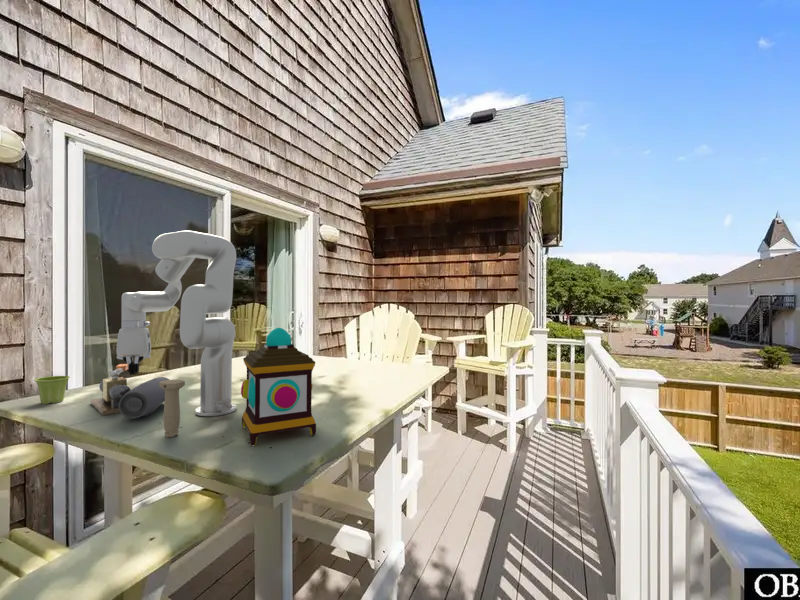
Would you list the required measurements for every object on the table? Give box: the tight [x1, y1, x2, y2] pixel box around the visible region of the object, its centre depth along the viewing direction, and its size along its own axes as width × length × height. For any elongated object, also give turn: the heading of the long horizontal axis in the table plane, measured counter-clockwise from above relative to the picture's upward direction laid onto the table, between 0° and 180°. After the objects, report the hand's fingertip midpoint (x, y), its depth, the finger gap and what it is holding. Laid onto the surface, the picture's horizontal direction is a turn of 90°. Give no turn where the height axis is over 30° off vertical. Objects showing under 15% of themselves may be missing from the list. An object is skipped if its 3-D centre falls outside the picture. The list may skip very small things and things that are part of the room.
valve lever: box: [109, 363, 128, 377], centre depth 140 cm, size 14×3×2 cm, turn 24°
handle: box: [159, 379, 186, 438], centre depth 106 cm, size 5×6×15 cm
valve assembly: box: [90, 375, 132, 416], centre depth 135 cm, size 20×12×11 cm, turn 48°
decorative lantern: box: [240, 327, 317, 446], centre depth 110 cm, size 20×20×30 cm
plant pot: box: [34, 375, 71, 405], centre depth 139 cm, size 9×9×9 cm
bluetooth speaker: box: [118, 376, 170, 419], centre depth 128 cm, size 23×9×10 cm, turn 13°
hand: (133, 374), depth 144 cm, fingers closed
